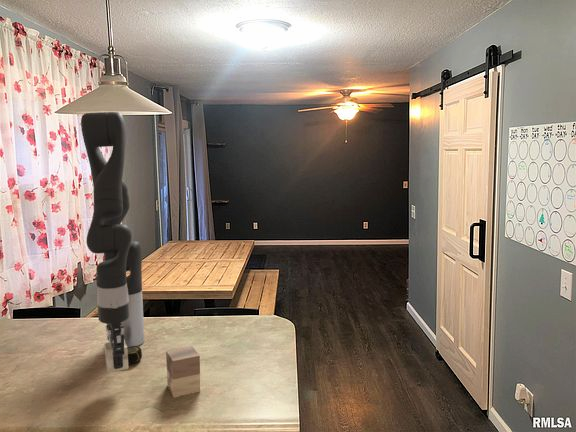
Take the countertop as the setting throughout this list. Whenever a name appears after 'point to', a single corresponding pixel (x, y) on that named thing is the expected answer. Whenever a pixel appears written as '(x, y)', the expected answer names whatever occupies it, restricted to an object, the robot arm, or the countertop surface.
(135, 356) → the tape measure
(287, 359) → the countertop surface
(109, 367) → the maple block
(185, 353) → the walnut slab
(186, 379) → the tan wooden block
